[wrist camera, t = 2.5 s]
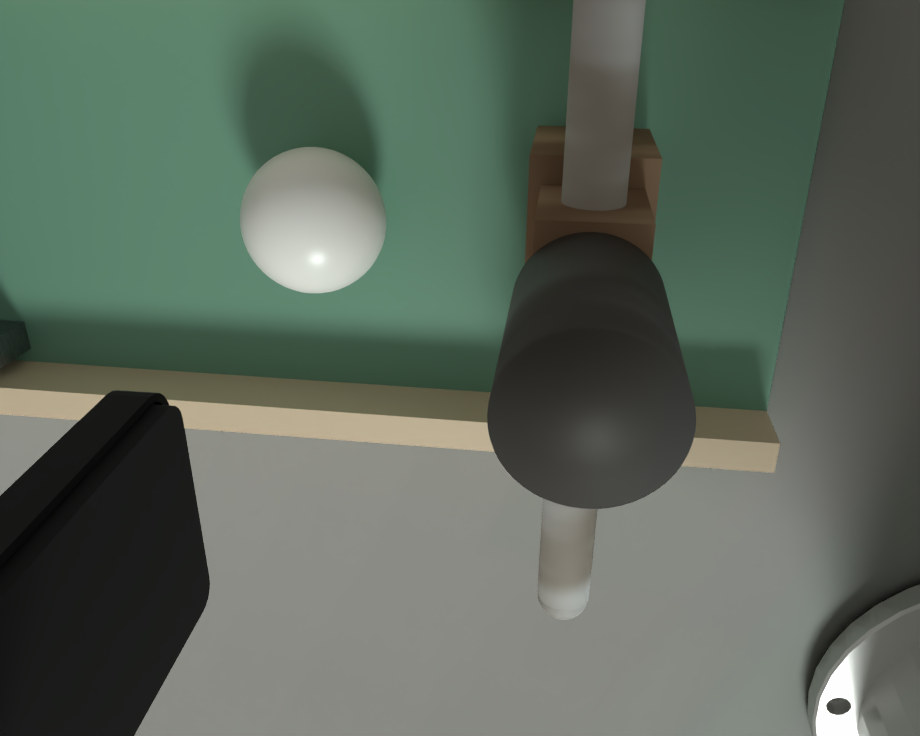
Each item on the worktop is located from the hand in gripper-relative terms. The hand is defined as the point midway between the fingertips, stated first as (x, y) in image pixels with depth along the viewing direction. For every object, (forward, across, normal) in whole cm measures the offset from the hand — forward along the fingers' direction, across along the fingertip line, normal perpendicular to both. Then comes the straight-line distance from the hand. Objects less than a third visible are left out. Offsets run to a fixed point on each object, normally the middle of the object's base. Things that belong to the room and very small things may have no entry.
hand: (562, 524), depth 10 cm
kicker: (+15, -1, +1) cm, 15 cm away
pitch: (+17, +8, +1) cm, 19 cm away
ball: (+14, +7, +1) cm, 15 cm away
